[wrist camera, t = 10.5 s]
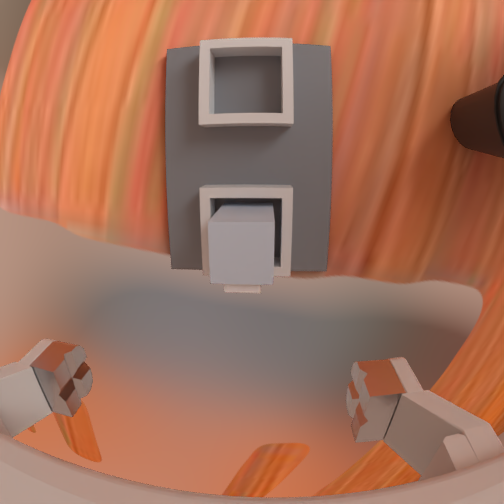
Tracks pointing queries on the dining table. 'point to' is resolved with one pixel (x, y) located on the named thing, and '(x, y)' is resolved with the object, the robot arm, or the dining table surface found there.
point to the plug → (242, 246)
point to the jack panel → (250, 144)
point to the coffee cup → (481, 120)
